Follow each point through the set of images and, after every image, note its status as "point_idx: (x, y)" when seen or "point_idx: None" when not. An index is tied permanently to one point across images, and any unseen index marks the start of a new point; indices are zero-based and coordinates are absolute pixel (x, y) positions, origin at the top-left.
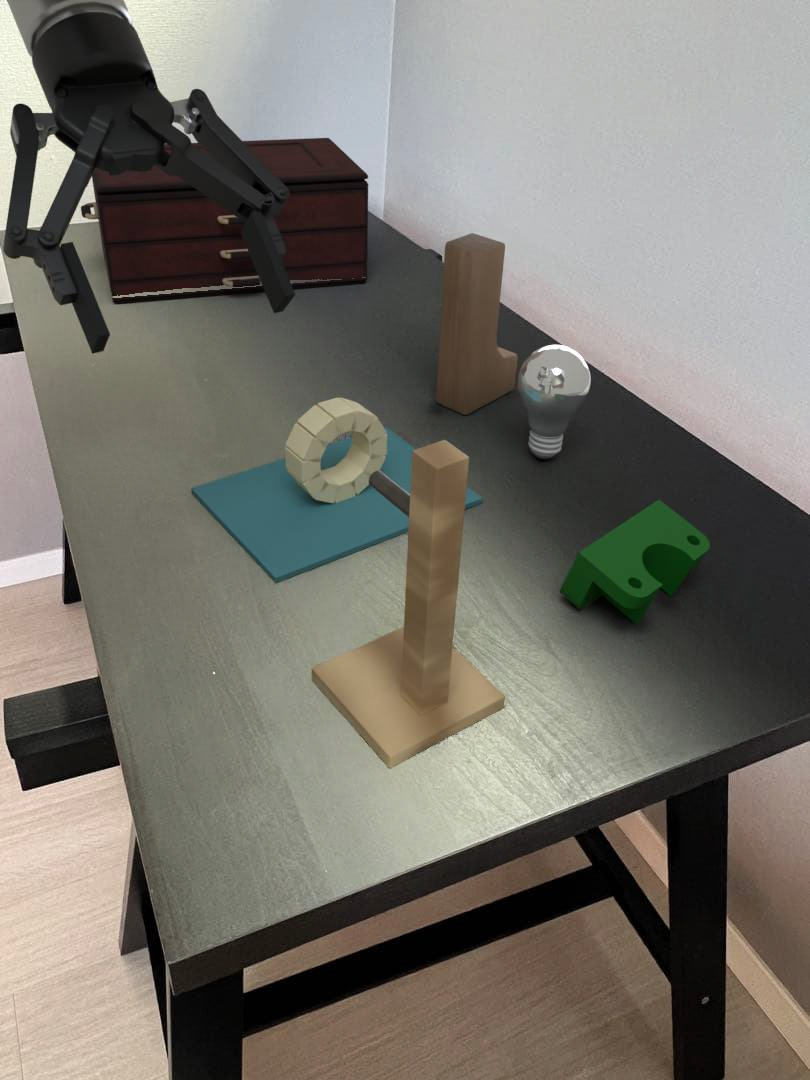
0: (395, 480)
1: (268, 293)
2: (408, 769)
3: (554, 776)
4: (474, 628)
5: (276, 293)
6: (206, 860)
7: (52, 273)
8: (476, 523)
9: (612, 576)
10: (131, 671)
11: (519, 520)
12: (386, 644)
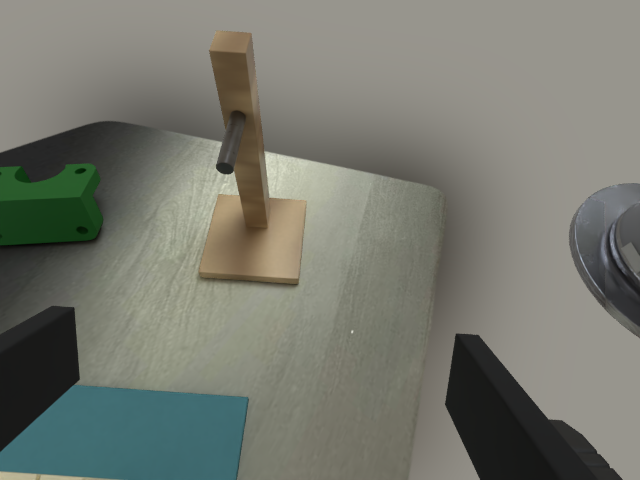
0: None
1: (51, 392)
2: None
3: None
4: (170, 257)
5: (60, 351)
6: (419, 217)
7: (609, 468)
8: None
9: (86, 178)
10: (405, 372)
11: None
12: (240, 266)
